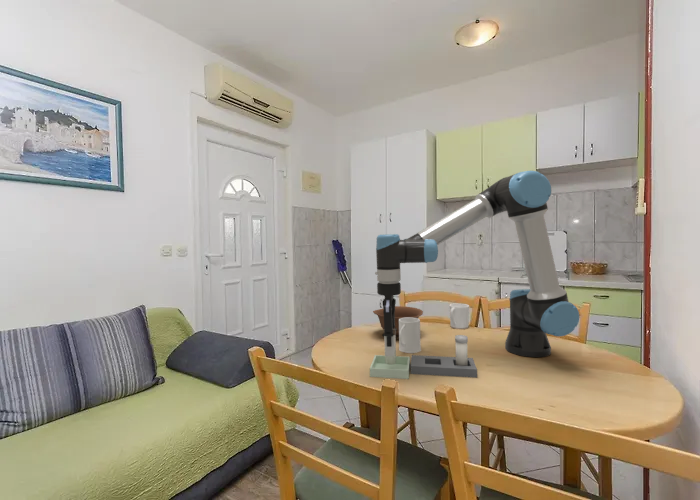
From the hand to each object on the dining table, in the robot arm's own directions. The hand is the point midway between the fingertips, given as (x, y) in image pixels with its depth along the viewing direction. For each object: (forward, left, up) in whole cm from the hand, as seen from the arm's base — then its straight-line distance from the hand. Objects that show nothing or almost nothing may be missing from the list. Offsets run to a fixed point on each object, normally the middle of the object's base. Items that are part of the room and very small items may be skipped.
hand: (390, 353), depth 112 cm
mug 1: (-5, -20, -6) cm, 21 cm away
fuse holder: (-17, -3, -6) cm, 18 cm away
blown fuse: (0, 0, -3) cm, 3 cm away
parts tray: (0, 0, -6) cm, 6 cm away
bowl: (0, -41, -6) cm, 41 cm away
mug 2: (-27, -57, -6) cm, 63 cm away
